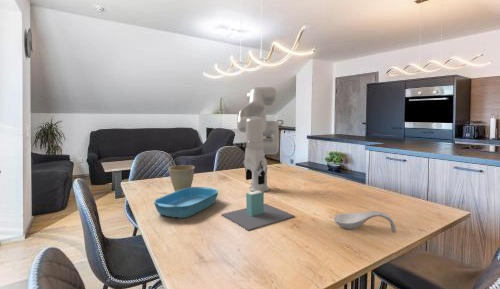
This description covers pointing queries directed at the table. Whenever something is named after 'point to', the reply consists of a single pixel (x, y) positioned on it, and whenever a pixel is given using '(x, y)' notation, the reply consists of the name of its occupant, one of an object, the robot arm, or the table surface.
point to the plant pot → (181, 176)
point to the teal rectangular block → (255, 203)
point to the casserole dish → (186, 201)
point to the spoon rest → (360, 219)
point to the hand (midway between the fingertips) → (254, 181)
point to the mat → (257, 217)
